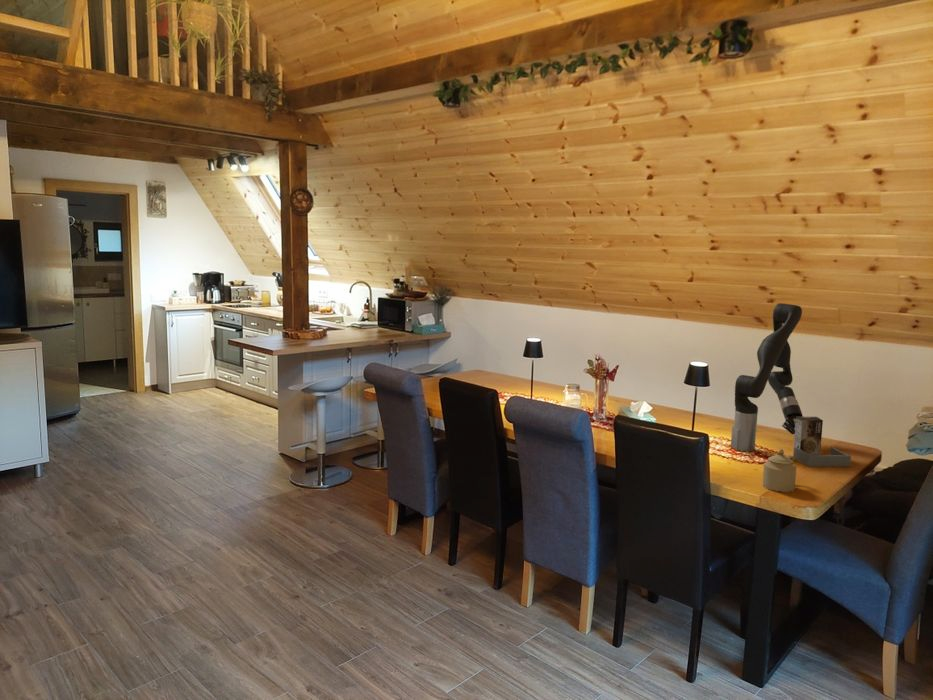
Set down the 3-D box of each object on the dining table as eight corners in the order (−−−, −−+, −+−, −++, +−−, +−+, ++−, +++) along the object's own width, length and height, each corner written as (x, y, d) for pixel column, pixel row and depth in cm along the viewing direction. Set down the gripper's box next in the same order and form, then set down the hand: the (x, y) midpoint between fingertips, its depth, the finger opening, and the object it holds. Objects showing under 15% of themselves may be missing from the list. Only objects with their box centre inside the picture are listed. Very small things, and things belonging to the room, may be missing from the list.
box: (808, 466, 274) (809, 456, 273) (793, 457, 286) (793, 447, 285) (849, 466, 274) (851, 456, 274) (832, 457, 287) (833, 447, 286)
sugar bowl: (760, 477, 259) (763, 440, 257) (791, 481, 256) (795, 443, 253) (763, 490, 246) (766, 451, 243) (796, 494, 242) (799, 454, 240)
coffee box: (813, 451, 295) (816, 416, 292) (820, 456, 288) (823, 420, 286) (792, 451, 295) (795, 415, 293) (799, 455, 289) (802, 419, 286)
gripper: (779, 404, 302) (791, 437, 291) (808, 404, 302) (821, 437, 292) (773, 412, 308) (784, 445, 297) (801, 412, 308) (813, 445, 298)
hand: (802, 441), depth 295 cm, fingers closed
